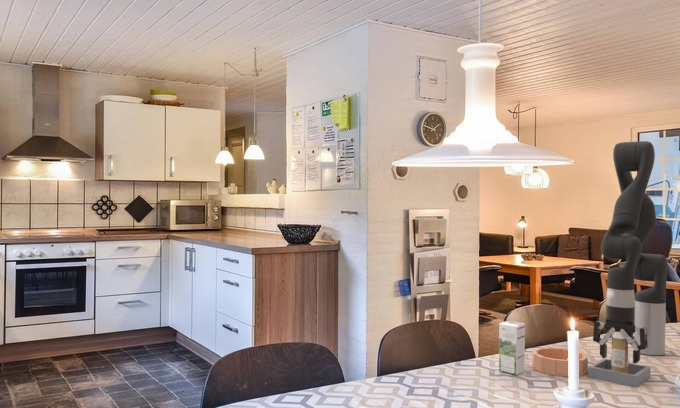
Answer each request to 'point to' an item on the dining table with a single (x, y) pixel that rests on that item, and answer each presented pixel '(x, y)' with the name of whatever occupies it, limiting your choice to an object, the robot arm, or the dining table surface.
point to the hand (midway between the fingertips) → (619, 360)
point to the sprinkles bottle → (619, 353)
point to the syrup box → (512, 347)
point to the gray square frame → (619, 373)
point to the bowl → (556, 361)
